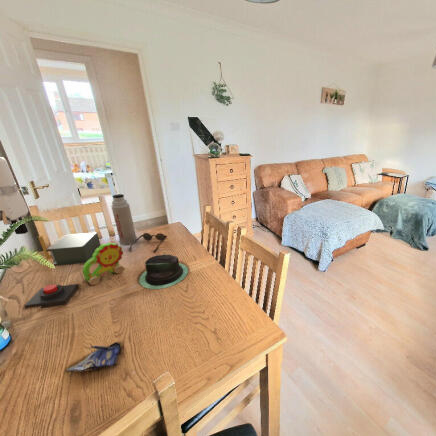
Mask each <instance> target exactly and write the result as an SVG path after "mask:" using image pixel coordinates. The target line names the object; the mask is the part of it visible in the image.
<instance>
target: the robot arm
mask: <svg viewBox="0 0 436 436" xmlns="http://www.w3.org/2000/svg"><path fill="white" fill-rule="evenodd" d="M28 213H29V208H28V205H27V203H26V201H25V199H24V197H23V196H22V194H21V192H20V190H19V187H18V185H17V183H16V181H15V177H14V175H13V172H12V170H11V169H10V166H9V163H8V161H7V160H6V158H4V157H2V156H0V222H3V224H4V225H5V226H7V225H8V226H9V225H10V226H11V225H12V224H13V223H16V222H18V221H20V220H22V219H25V218H26V216H27V215H28ZM25 220H26V219H25ZM14 233H15V235H25V234H27V233H29V230H28V227H27V224H26V222H25V223H24V224H22V225H20V226H19V227H18V228H17V229H16V230H15V231H14Z"/></svg>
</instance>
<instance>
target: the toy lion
mask: <svg viewBox="0 0 436 436" xmlns="http://www.w3.org/2000/svg"><path fill="white" fill-rule="evenodd" d="M123 255H124V250H123V248H122V246H120V245H119V244H117V243H115V242H114V243H113V242H112V243H111V242H107V243H102V244H101V245H100V246H99V248H97V249H96V250H95V252H94V253H93V255H92V258H90V259H89V260H88V261H87V262H86V263H83V266H82V274H83V282H84V283H85V282H86V283H89V285H91V286H96V285H98V284H100V281H101V278H102V277H104V276H105V275H108V274H111V273H115V274H121V273H122V272H123V271H124V267H123V266H122V265H120V263H119V261H121V260H122V259H123ZM95 264H97V265H98V266H97V268H95V270H93V272H91V273H90V268H91V267H92V265H95Z"/></svg>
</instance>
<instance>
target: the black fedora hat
mask: <svg viewBox="0 0 436 436" xmlns="http://www.w3.org/2000/svg"><path fill="white" fill-rule="evenodd" d="M144 264H145V265H144V266H145V271H144V272H143V273H141V275H140V277H139V281H138V282H139V284H140V285H141V286H142V287H143V288H146V289H148V290H149V289H150V290H160V289H166V288H170V287H172V286H175V285H177V284H178V283H180V282H182V281H183V280H184V279H185V278H186V277H187V276H188V273H189V269H188V267H187V266H186V265H185V264H183V263H181V262H179V257H177V256H176V255H172V254H168V253H167V254H165V253H163V254H156V255H153V256H151V257H149V258H148V259H147V260H145V261H144Z"/></svg>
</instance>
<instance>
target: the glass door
mask: <svg viewBox="0 0 436 436" xmlns="http://www.w3.org/2000/svg"><path fill="white" fill-rule="evenodd" d="M37 238H38V240H39V243H40V246H41V248H42V251H43V254H44V256H45V258H46V260H51V259H52V261H53V263H55V262H56V260H55V257H54V254H53V252H52V251H46V249H47V248H48V247H47V245H46V242H45V240H44V237H43V235H38V236H37Z"/></svg>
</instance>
